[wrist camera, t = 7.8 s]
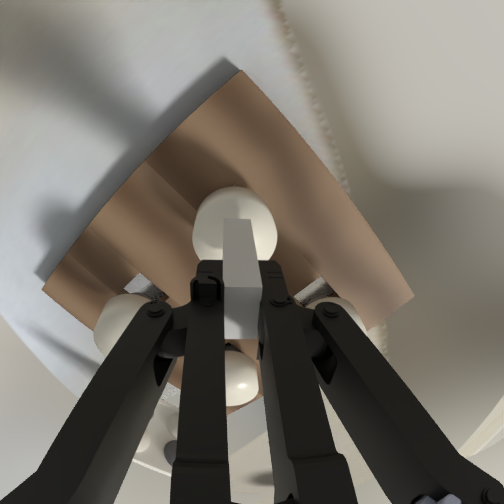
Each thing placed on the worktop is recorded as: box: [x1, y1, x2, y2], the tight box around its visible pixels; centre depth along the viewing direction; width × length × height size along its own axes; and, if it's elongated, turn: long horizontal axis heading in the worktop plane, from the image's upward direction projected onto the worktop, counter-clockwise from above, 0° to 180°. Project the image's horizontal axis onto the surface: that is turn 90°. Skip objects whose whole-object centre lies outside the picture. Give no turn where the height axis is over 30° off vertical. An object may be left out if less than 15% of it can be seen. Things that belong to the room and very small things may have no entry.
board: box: [41, 70, 414, 415], centre depth 26 cm, size 24×24×1 cm
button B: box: [305, 296, 367, 336], centre depth 23 cm, size 5×5×4 cm
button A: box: [192, 186, 277, 260], centre depth 21 cm, size 5×5×4 cm
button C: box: [94, 292, 153, 357], centre depth 22 cm, size 5×5×4 cm
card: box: [132, 398, 179, 477], centre depth 30 cm, size 4×12×9 cm, turn 41°
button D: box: [225, 345, 259, 406], centre depth 28 cm, size 5×5×4 cm
